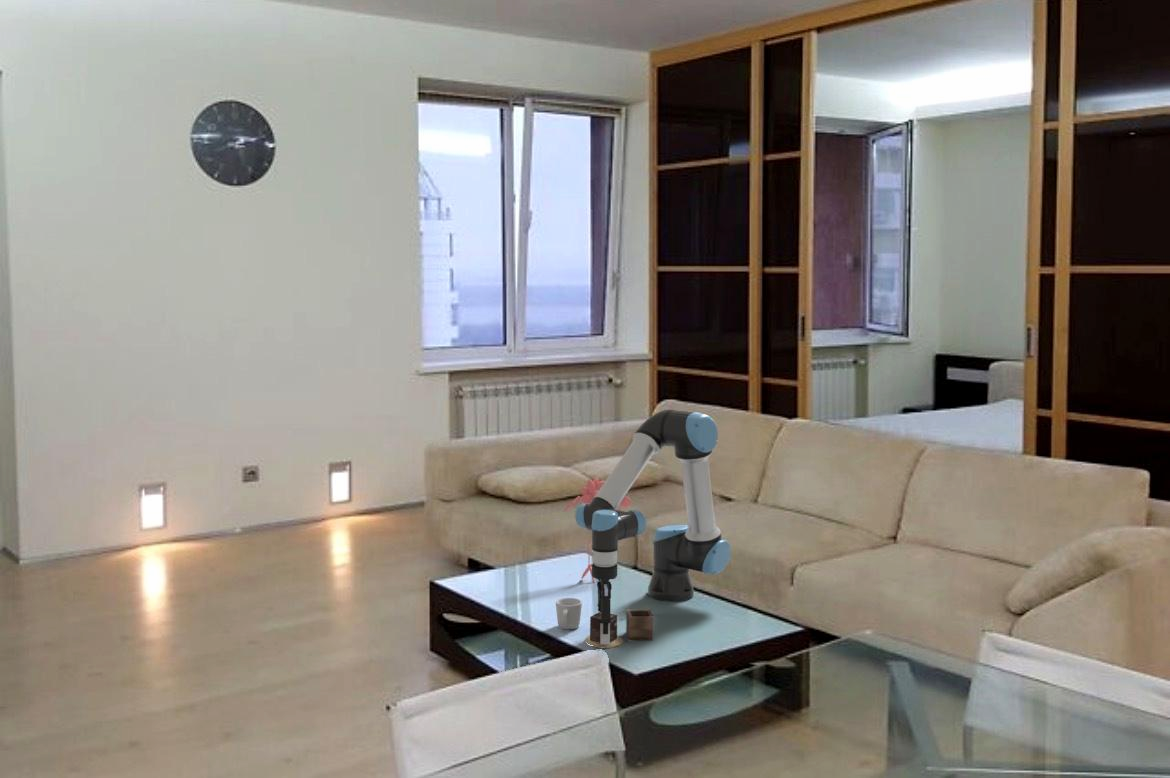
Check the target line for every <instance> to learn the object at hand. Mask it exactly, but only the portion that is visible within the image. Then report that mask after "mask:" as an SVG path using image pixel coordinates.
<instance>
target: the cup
mask: <svg viewBox="0 0 1170 778" xmlns="http://www.w3.org/2000/svg"><path fill="white" fill-rule="evenodd" d="M582 605H583V602H582V600H580V599H578V598H576V597H563V598H558V599H557V600H556V601H555V608H556V609H555V610H556V619H557V624H558V627H559V628H560V629H564V630H575V629H577V628H579V626H580V624H581V616H582Z"/></svg>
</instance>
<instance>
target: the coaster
mask: <svg viewBox="0 0 1170 778" xmlns="http://www.w3.org/2000/svg"><path fill="white" fill-rule="evenodd" d="M584 641H586V642H587V643H588V644H590V645H593V646H591V647H594V648H597V647H605V648H604V649H611V648H615V647H619V646H621V645H622V644H623V638H622V637H621V636H619V635H617V639H615V640H614V641H612V642H610V644H600V642H595V641H591V640H590V635H588V636H586V638H585V639H584Z"/></svg>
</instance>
